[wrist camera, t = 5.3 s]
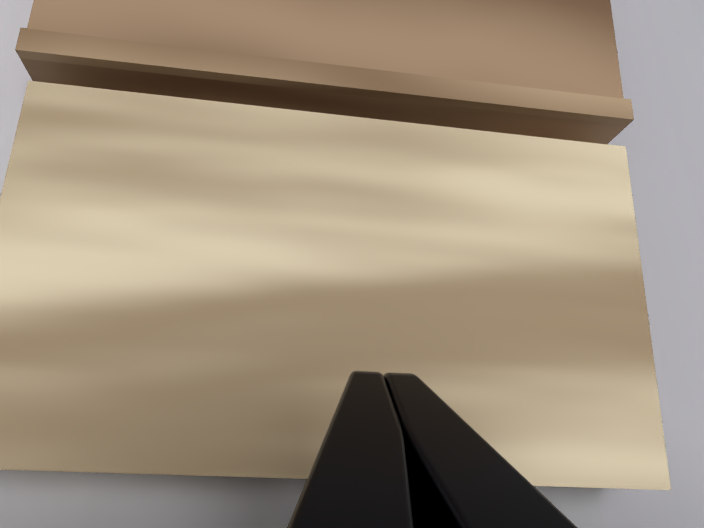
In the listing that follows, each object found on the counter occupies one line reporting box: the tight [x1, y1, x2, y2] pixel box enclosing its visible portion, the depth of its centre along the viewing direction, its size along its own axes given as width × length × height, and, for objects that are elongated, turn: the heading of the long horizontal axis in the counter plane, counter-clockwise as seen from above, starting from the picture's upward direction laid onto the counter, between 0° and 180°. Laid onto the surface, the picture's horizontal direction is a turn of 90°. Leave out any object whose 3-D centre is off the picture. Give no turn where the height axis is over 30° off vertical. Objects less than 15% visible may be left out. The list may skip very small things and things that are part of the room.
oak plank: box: [0, 81, 671, 490], centre depth 14 cm, size 3×14×8 cm
